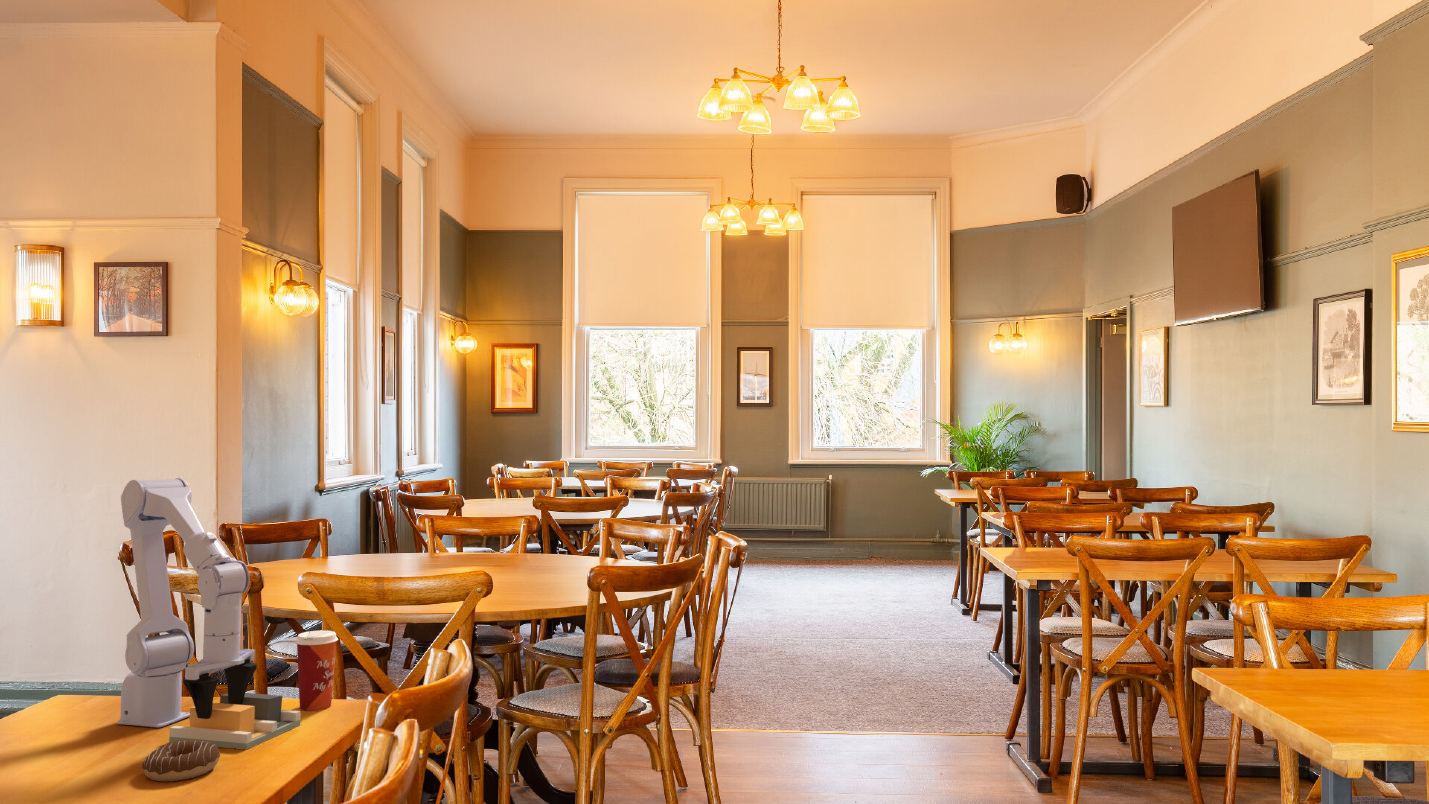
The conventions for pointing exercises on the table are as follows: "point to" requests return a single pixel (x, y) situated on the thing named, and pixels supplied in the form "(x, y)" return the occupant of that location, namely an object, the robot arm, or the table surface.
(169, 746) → the donut
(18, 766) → the table surface
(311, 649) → the paper cup
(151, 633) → the robot arm
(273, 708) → the dark grey block
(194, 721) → the wooden block
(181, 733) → the comb board
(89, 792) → the table surface
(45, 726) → the table surface
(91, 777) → the table surface
